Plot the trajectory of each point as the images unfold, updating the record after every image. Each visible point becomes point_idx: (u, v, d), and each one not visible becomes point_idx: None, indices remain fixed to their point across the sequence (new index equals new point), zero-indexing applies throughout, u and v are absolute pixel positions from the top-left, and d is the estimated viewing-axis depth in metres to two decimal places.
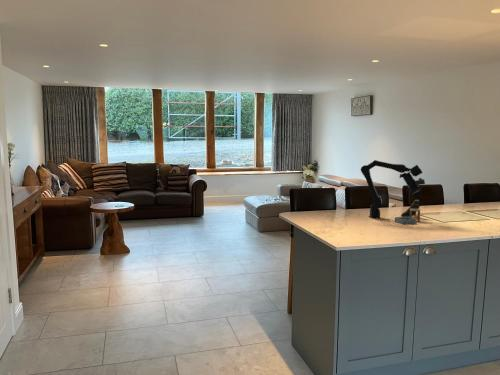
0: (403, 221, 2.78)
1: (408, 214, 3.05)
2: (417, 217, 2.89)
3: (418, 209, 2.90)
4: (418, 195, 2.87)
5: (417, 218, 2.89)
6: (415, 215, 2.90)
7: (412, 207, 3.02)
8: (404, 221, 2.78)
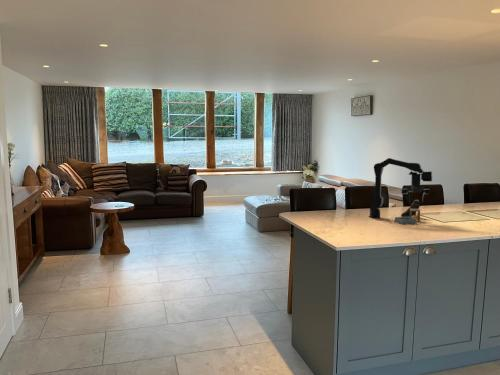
0: (403, 221, 2.78)
1: (408, 214, 3.05)
2: (417, 217, 2.89)
3: (418, 209, 2.90)
4: (406, 197, 2.91)
5: (417, 218, 2.89)
6: (415, 215, 2.90)
7: (412, 207, 3.02)
8: (404, 221, 2.78)
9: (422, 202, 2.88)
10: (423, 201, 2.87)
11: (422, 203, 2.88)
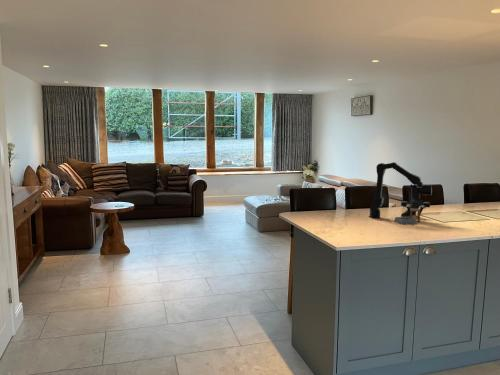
0: (403, 221, 2.78)
1: (408, 214, 3.05)
2: (417, 217, 2.89)
3: (418, 209, 2.90)
4: (408, 210, 2.92)
5: (417, 218, 2.89)
6: (415, 215, 2.90)
7: (412, 207, 3.02)
8: (404, 221, 2.78)
9: None
10: (420, 214, 2.88)
11: None
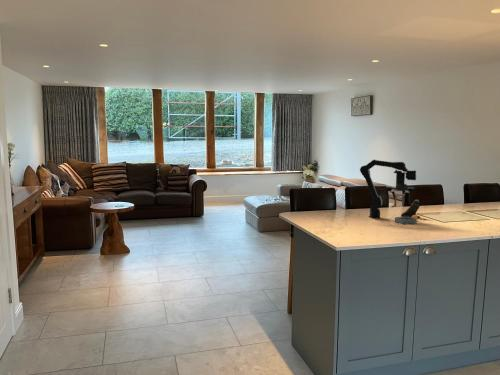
0: (403, 221, 2.78)
1: (408, 214, 3.05)
2: (417, 217, 2.89)
3: (403, 194, 2.95)
4: (393, 195, 2.97)
5: (417, 218, 2.89)
6: (415, 215, 2.90)
7: (412, 207, 3.02)
8: (404, 221, 2.78)
9: None
10: (404, 199, 2.94)
11: None
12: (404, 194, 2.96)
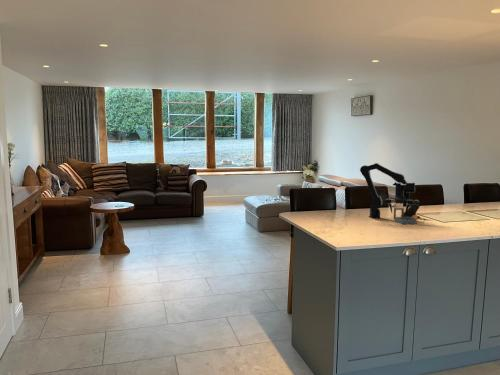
0: (403, 221, 2.78)
1: (408, 214, 3.05)
2: (417, 217, 2.89)
3: (402, 208, 2.96)
4: (390, 207, 2.98)
5: (417, 218, 2.89)
6: (415, 215, 2.90)
7: (412, 207, 3.02)
8: (404, 221, 2.78)
9: (405, 212, 2.95)
10: (406, 211, 2.94)
11: (405, 213, 2.95)
12: (406, 206, 2.96)
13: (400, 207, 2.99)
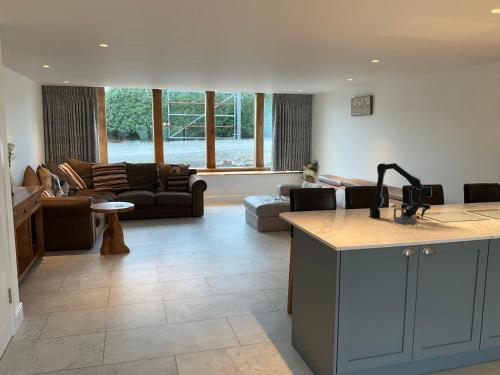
0: (403, 221, 2.78)
1: None
2: (417, 217, 2.89)
3: (402, 208, 2.96)
4: (407, 212, 2.92)
5: (417, 218, 2.89)
6: (415, 215, 2.90)
7: None
8: (404, 221, 2.78)
9: (421, 217, 2.89)
10: (422, 216, 2.88)
11: (421, 218, 2.89)
12: (422, 211, 2.90)
13: (400, 207, 2.99)
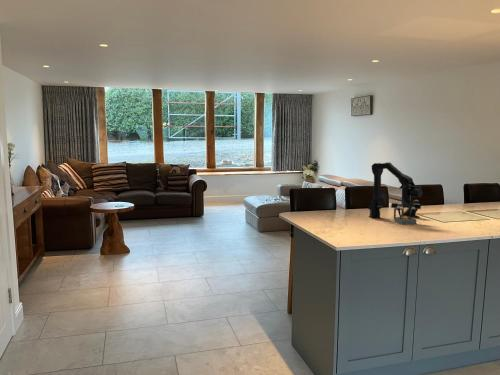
0: (403, 221, 2.78)
1: (408, 214, 3.05)
2: None
3: (402, 208, 2.96)
4: None
5: None
6: (406, 216, 2.83)
7: (411, 207, 3.02)
8: (404, 221, 2.78)
9: (410, 217, 2.82)
10: (411, 216, 2.82)
11: (410, 218, 2.82)
12: (411, 210, 2.84)
13: (400, 207, 2.99)
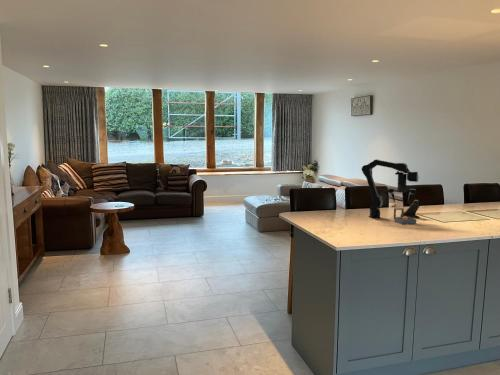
0: (403, 221, 2.78)
1: (408, 214, 3.05)
2: None
3: (402, 208, 2.96)
4: None
5: None
6: (405, 216, 2.83)
7: (411, 207, 3.02)
8: (404, 221, 2.78)
9: (408, 202, 2.91)
10: None
11: None
12: None
13: (400, 207, 2.99)
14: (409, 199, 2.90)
